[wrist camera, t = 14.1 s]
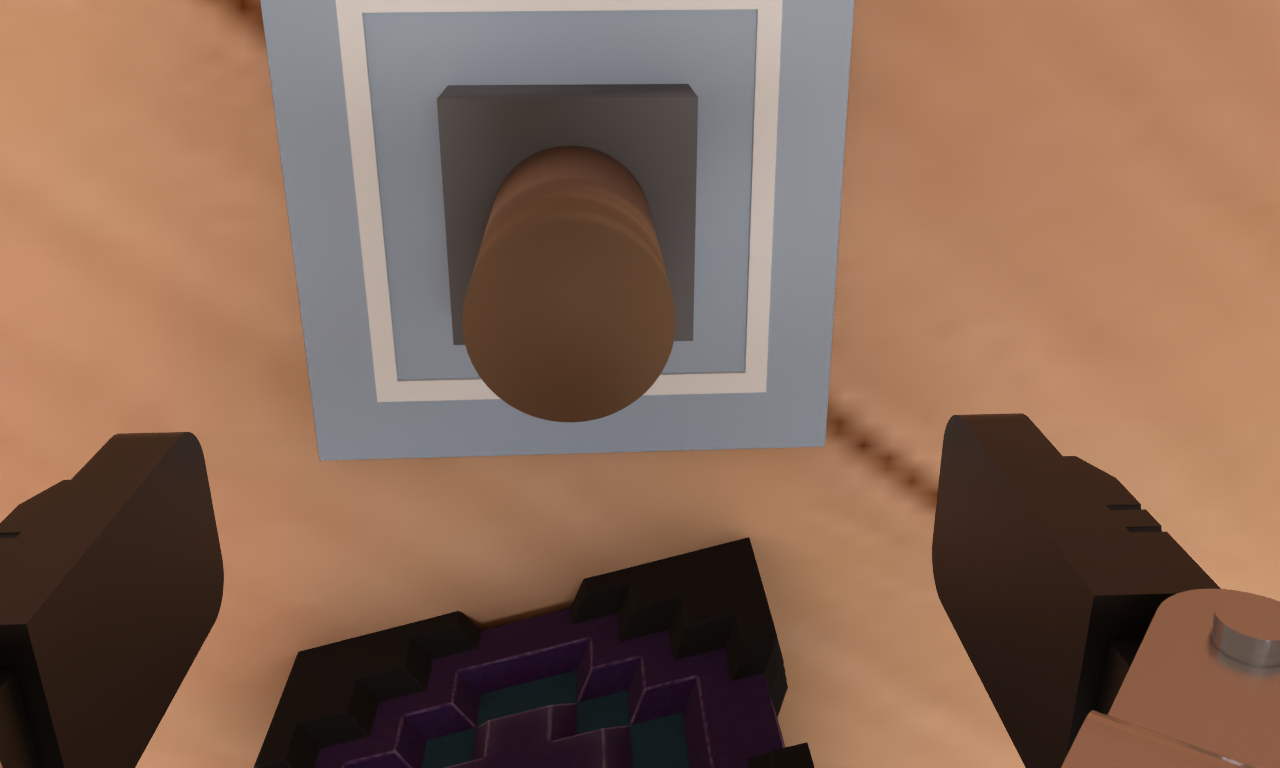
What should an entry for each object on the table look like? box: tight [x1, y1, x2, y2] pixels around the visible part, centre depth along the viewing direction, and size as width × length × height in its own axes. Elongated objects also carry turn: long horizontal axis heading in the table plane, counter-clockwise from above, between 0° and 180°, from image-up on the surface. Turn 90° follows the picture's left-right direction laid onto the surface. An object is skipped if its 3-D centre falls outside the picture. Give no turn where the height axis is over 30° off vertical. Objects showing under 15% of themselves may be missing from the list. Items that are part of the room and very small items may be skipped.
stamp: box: [437, 84, 698, 423], centre depth 20 cm, size 5×5×8 cm
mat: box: [260, 0, 854, 461], centre depth 24 cm, size 12×12×1 cm
